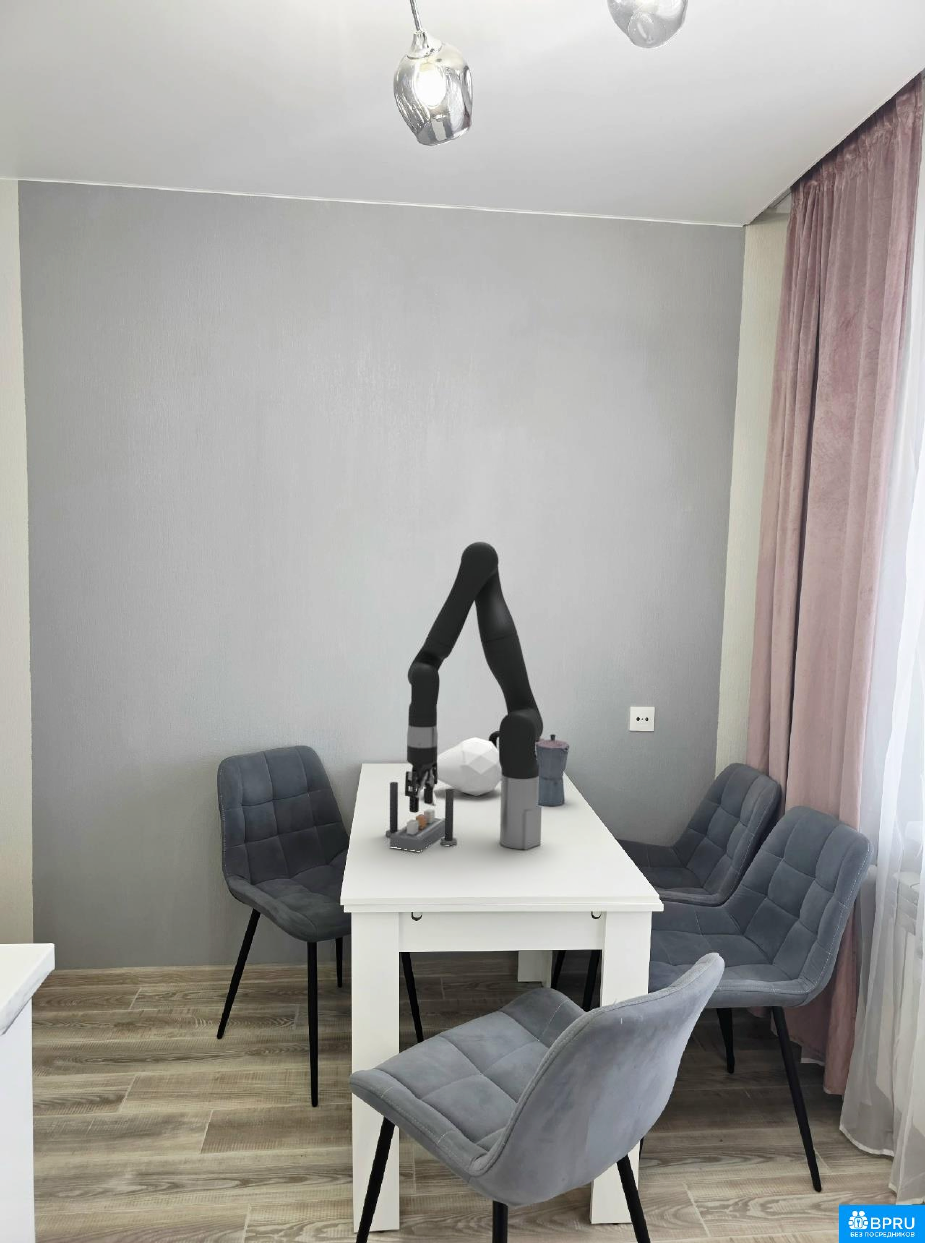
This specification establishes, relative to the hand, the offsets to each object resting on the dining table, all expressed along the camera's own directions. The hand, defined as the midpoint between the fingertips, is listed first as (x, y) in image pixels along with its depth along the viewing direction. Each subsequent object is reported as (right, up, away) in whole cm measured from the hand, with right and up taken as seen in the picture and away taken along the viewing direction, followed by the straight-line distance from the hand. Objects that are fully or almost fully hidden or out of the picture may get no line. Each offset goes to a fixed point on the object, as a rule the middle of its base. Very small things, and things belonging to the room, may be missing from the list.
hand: (421, 807), depth 224 cm
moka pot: (+35, -6, +36) cm, 51 cm away
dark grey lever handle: (-7, -8, +3) cm, 11 cm away
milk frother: (+24, -4, +66) cm, 70 cm away
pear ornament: (+9, -5, +42) cm, 43 cm away
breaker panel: (0, -8, +1) cm, 8 cm away
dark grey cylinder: (+7, -8, -2) cm, 11 cm away
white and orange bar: (0, -5, 0) cm, 5 cm away
